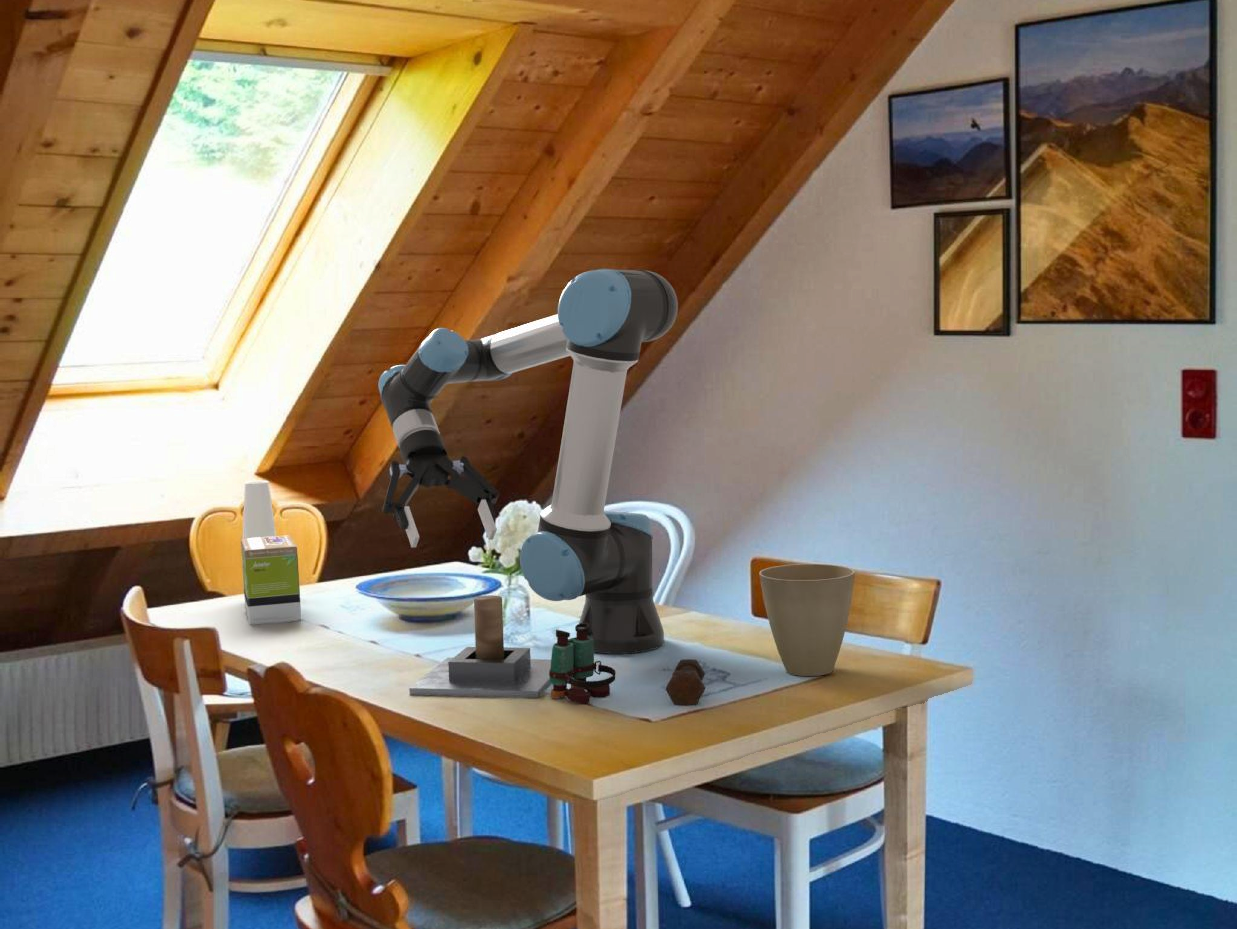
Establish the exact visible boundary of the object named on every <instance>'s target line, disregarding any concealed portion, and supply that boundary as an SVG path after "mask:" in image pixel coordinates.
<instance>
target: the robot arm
mask: <svg viewBox="0 0 1237 929" xmlns="http://www.w3.org/2000/svg"><path fill="white" fill-rule="evenodd" d="M678 308H679V303H678V297H677V294H676V292H675V289H674V288H673V286H672V284H670V282H669V281H668V279H666V278H664V276H662V275H660V274H658V273H657V272H653V271H651V270H644V269H636V270H632V269H630V270H629V269H612V268H611V269H609V268H600V269H595V270H589V271H585V272H582V273H580V274H578V275H576V276H575V277H573V279H571V280H570V281H569V282H568V283H567V285H566V286H565V288H564V289H563V290H562V293H561V295H560V298H559V302H558V306H557V313H556V314H554V315H550V316H548V317H544V318H541V319H537V320H535V321H531V322H529V323H525V324H522V325H520V326H517V327H516V326H515V327H513V328H510V329H507V330H504V331H500V332H498V333H496V334H492V335H489V336H485V337H483V338H478V339H464V338H463V337H462V336H461V335H460V334H459V333H457V332H455V331H454V330H449V328H446V327H438V328H436V329H434V330H433V331H432V332H431V333H430V334H429V335H428V336H427V337H426V338H425V339H424V340H423V341H422V342H421V343H420V345H419V347H418V348H417V349H416V351H415V352H414V354H413V355H412V356H411V357H410V359H409V360H408V361H407V362H406V364H399V365H393V366H392V367H390V368H389V370H385V371H383V373H382V374H381V375H380V377H379V380H378V390H379V394H380V400H381V403H382V405H383V407H384V409H385V412H386V414H387V417H388V420H389V424H390V425H391V429H392V432H393V435H394V437H395V440H396V443H397V446H398V449H399V452H400V455H401V458H402V462H403V464H400V463H399V462H398V461H396V460H393V461H392V462H391V464H390V467H389V470H388V475H389V480H390V481H389V485H388V488H387V490H386V491H387V492H386V495H385V499H384V503H383V506H382V510H381V511H382V513H383V514H385V515H387V514H392V518H393V519H395V520H397V523H398V527H399V529H400V530H402V531H403V530H405V533H406V535H407V538H408V541H409V544H410V548H417V545H418V543H419V540H420V534H419V531H418V528H417V526H416V524H415V520H414V518H413V514H412V512H411V507H410V506H409V505H408V504H409V502H410V500H412V497H413V495H414V494H415V493H416V492H417V491H418V489H419V487H420V486H422V487H424V488H430V487H443V486H444V487H446V488H447V489H449V490H451V489H453V490H454V491H456V492H457V493H459V494H461V495H462V496H463V497H465V498H467V499H468V500H469V501H471V502H472V503H474V504H476V505H477V506H478V508H477V512H478V514H479V518H480V520H481V523H482V525H483V528H484V532H485V534H486V536H487V539H488V540H489V541H492V540H494V538H495V536H496V533H497V531H498V529H497V526H496V523H495V521H494V520H495V518H496V511H495V508H494V506H493V505H495V504H496V503H497V501H498V498H499V495H500V491H499V490H498V489H497V488H495V487H494V485H492V484H491V483H490V482H489V481H488V480H487V479H486V478H485V477H483V475H482V474H480V472H479V471H477V469H475V468H474V467H473V466H472V465H471V463H470V460H469V459H468V457H467V456H465V455H462V456H461V457H460V459H457V460H451V458H449V455H448V452H447V449H446V448H447V447H446V446H445V443H444V440H443V438H442V435H441V432H440V430H439V427H438V425H437V422H436V419H435V416H434V413H433V411H432V408H431V403H432V402H433V400H434V399H435V398H436V397H438V395H439V394H440V392H441V391H442V390H443V389H444V387H445V386H447V385H449V384H460V383H461V384H463V383H470V382H471V383H473V382H495V381H500V380H504V379H506V378H508V377H510V376H511V375H513V373H516V372H519V371H523V370H527V369H530V368H533V367H536V366H540V365H543V364H544V365H545V364H547V363H550V362H553V361H556V360H557V361H558V360H561V359H563V358H568V357H571V359H572V360H573V365H572V372H571V378H570V383H569V390H568V391H569V392H568V397H567V404H566V410H565V417H564V422H563V423H564V424H563V429H562V434H561V435H562V437H561V443H560V450H559V455H558V462H557V468H556V473H555V474H556V475H555V478H554V488H553V492H552V493H553V494H552V499H551V503H550V505H548V506H547V507H545V508H543V509H542V510H541V512H540V515H539V516H540V517H539V520H538V526H537V527H538V529H537V532H536V531H535V532H533V533H532V534H531V535H530V536H529V537H527V538H526V539H525V540H524V542H523V543H522V545H521V548H520V554H519V564H520V569H521V573H522V575H523V577H524V579H525V580H526V581H527V583H528V586H529V587H530V589H531V590H532V591H533V592H534V593H535V594H536V595H538V596H539V597H540V598H542V599H544V600H546V601H552V602H562V601H572V600H576V599H577V598H579V597H582V596H585V601H584V605H583V608H582V612H581V616H580V618H579V622H578V624H580V623H588V624H589V632H587V637H590V638H592V639H593V640H594V653H600V654H635V653H641V652H648V651H651V650H655V649H657V648H660V647H662V646H663V645H664V644H665V631H664V628H663V624H662V621H661V618H660V616H659V615H660V614H659V613H658V610H657V607H656V604H655V602H654V595H653V594H654V592H653V591H654V588H653V587H654V584H653V583H654V579H653V540H654V539H653V538H654V534H653V533H652V523H651V519H650V518H649V517H648V516H647V515H646V514H643V513H635V512H623V511H622V512H621V511H605V506H606V500H607V493H608V489H609V482H610V476H611V470H612V464H613V457H614V451H615V445H616V439H617V434H618V427H619V422H620V415H621V409H622V403H623V399H624V398H623V396H624V392H625V386H626V385H625V384H626V381H627V374H628V373H627V372H628V370H629V369H630V367H632V366H633V365H635V364H637V363H638V361H639V359H640V353H641V346H642V343H646V342H647V343H648V342H652V341H653V342H654V341H655V340H658V339H660V338H661V337H663V336H664V335H666V334H667V333H668V332H669V331H670V329H672V327H673V325H674V324H675V321H676V318H677V315H678V311H679V310H678ZM403 474H405V475H406V476H408V477H409V478H411V480H410V482H409V483H408V484H407V486H406V487H405V489H404V490H403V491H402V494H401V496H400V497H399V499H398V500H397V501H396V502H395V501H394V498H395V493H396V490H397V486H398V484H399V479H400V478H402V477H403ZM449 477H450V479H449ZM575 632H576V631H575ZM575 634H576V636H575V637H577V632H576V633H575Z"/></svg>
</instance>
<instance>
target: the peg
mask: <svg viewBox="0 0 1237 929" xmlns="http://www.w3.org/2000/svg"><path fill="white" fill-rule="evenodd" d="M473 609H474V610H473V611H474V612H473V613H474V616H473V618H474V637H475V638H474V639H475V640H474V641H475V642H474V643H475V645H474V646H475V647H476V659H482V660H504V646H505V644H504V643H505V642H504V612H503V597H502V596H500V595H481V596H476V597H473Z"/></svg>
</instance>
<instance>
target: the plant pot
mask: <svg viewBox="0 0 1237 929" xmlns="http://www.w3.org/2000/svg"><path fill="white" fill-rule="evenodd" d="M758 574H759V575H758V576H759V580H760V586H761V587H760V588H761V591H762V599H763V603H764V609H765V611H766V615H767V620H768V623H769V627H770V630H771V634H772V636H773V640H774V643H775V646H776V650H777V652H778V654H779V657H780V660H781V662H782V665H783V667H784V670H785V671H786V673H788V674H790V675H793V676H799V677H818V676H819V677H821V676H823V675H829V674H830V673H832V672H833V671H834V669H835V665H836V663H837V660H838V657H839V654H840V650H841V647H842V644H843V642H844V641H843V640H844V637H845V633H846V628H847V625H848V620H849V615H850V611H851V605H852V600H853V599H852V598H853V591H854V584H855V576H856V571H855V569H853V568H851V567H848V566H843V565H838V564H826V563H797V564H796V563H795V564H794V563H793V564H784V565H778V566H771V567H767V568H764V569H762V570H760V571H759V572H758Z"/></svg>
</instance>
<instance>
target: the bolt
mask: <svg viewBox="0 0 1237 929" xmlns="http://www.w3.org/2000/svg"><path fill="white" fill-rule="evenodd" d="M705 676H706V672H705V671H704V669H703V667H702V665H701V663H699V661H698V659H694V658H693V659H690V658H689V659H688V658H684V659H680V660H679V662H678V663H677V665H676V666H675V668H674V670H673V672H672V675H671V677H670V680H669V681H668V683H667V685H666V686H665V691H666V693H667V696H668V697H669V698H670V700H671V701H672V703H673V705H674V706H678V707H679V706H680V707H686V706H687V707H691V706H697V705H698V703H699V701H700V700H701V698H702V696H703V694H704V693H705V691H706V686H705V684H704V682H703V680H704V677H705Z"/></svg>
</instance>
